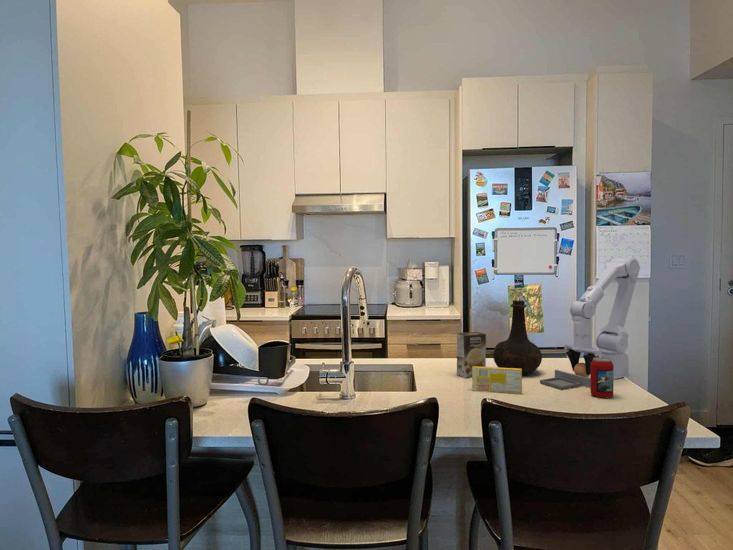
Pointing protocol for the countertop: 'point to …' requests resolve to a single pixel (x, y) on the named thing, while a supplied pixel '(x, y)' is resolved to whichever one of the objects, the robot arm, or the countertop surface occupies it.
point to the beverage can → (602, 377)
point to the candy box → (497, 379)
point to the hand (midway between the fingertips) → (582, 372)
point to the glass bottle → (518, 345)
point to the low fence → (573, 377)
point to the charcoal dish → (560, 383)
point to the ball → (580, 369)
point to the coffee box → (470, 352)
